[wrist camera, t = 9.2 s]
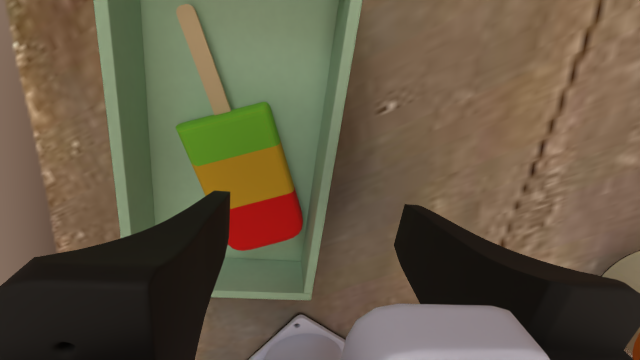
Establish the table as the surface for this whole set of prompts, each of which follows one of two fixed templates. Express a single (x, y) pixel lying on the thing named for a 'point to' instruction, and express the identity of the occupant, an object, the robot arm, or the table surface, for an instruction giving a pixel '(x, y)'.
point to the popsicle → (239, 155)
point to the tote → (241, 90)
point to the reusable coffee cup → (635, 273)
